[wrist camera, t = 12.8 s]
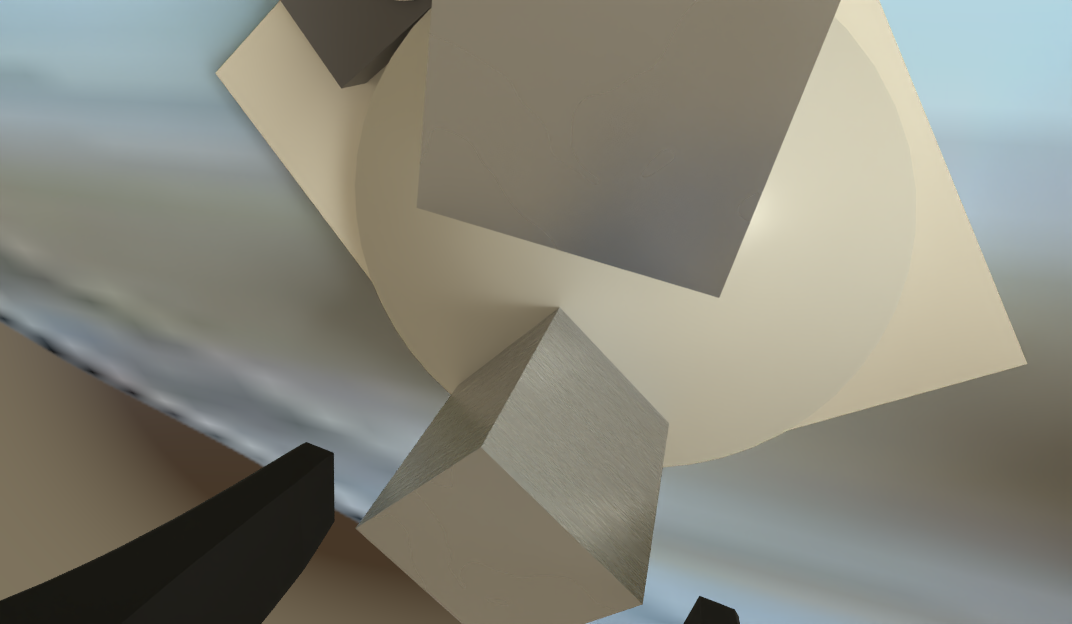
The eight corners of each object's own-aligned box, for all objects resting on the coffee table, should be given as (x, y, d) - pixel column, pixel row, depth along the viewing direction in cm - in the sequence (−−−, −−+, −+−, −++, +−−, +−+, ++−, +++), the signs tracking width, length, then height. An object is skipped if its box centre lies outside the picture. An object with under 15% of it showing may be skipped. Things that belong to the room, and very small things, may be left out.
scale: (1003, 335, 13) (1057, 400, 11) (546, 474, 19) (523, 532, 17) (695, -409, 9) (684, -535, 7) (249, 68, 15) (172, 78, 13)
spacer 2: (669, 422, 14) (642, 604, 10) (557, 483, 16) (495, 653, 12) (559, 307, 13) (481, 447, 9) (457, 385, 15) (355, 528, 11)
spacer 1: (812, -57, 9) (885, -110, 5) (723, 185, 11) (718, 297, 7) (571, -104, 10) (446, -188, 5) (530, 133, 12) (416, 207, 7)
